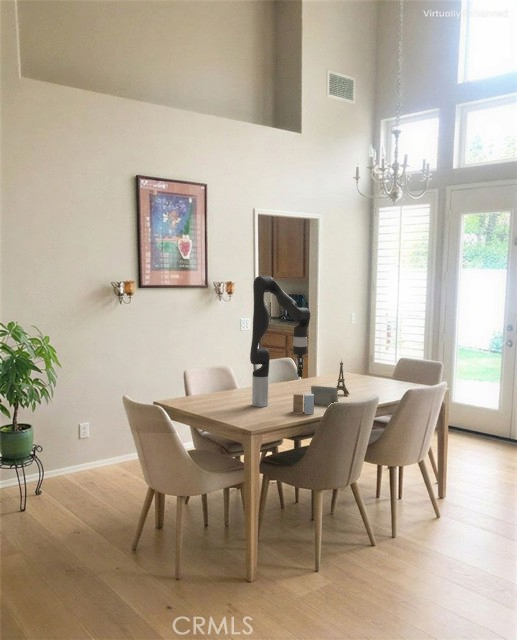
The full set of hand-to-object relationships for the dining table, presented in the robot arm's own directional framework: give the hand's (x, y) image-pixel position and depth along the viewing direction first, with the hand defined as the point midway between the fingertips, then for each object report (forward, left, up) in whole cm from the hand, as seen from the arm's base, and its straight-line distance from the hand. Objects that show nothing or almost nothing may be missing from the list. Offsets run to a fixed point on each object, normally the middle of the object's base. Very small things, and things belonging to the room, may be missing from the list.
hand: (299, 375), depth 296 cm
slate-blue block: (-9, +6, -22) cm, 24 cm away
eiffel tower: (-61, +31, -22) cm, 72 cm away
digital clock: (-33, +17, -22) cm, 43 cm away
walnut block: (-9, 0, -22) cm, 24 cm away
